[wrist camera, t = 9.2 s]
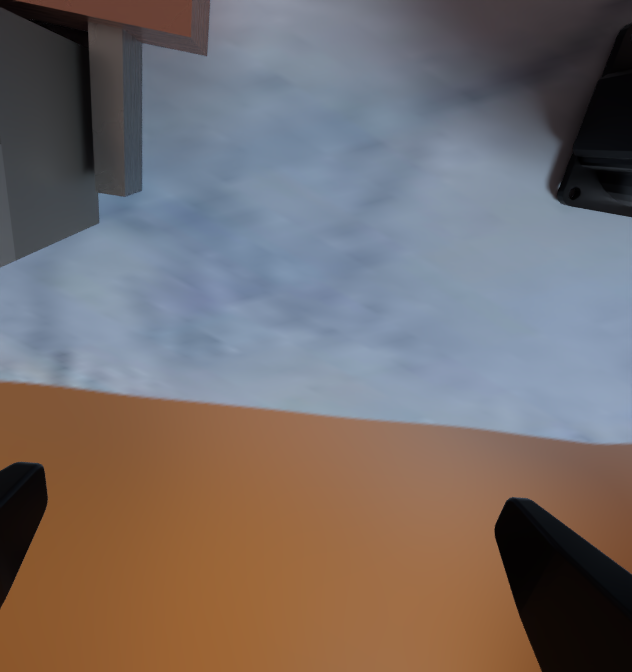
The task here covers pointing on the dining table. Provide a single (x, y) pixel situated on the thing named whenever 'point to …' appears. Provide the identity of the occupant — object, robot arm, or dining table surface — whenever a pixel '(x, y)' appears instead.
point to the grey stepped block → (43, 139)
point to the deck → (121, 68)
